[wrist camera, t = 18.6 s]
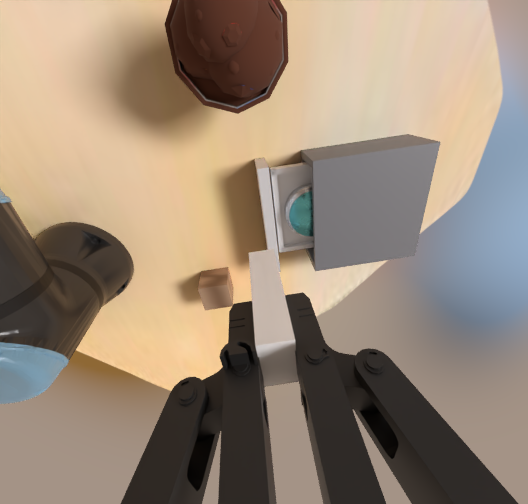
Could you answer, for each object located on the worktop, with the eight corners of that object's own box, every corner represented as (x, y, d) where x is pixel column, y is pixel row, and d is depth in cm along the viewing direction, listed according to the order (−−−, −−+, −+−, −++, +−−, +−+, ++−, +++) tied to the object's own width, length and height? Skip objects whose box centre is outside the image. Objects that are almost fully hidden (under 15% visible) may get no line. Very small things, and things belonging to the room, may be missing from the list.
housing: (305, 248, 47) (315, 271, 41) (301, 150, 38) (313, 161, 32) (391, 235, 47) (414, 255, 41) (408, 134, 38) (440, 142, 32)
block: (207, 291, 50) (205, 310, 46) (201, 271, 47) (197, 288, 43) (233, 287, 50) (232, 306, 46) (228, 267, 47) (227, 284, 43)
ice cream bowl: (171, 76, 32) (128, 65, 19) (210, -33, 27) (187, -146, 14) (247, 125, 35) (252, 143, 22) (292, 35, 31) (332, -6, 18)
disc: (285, 232, 43) (287, 241, 40) (283, 185, 38) (286, 191, 36) (332, 227, 43) (337, 235, 41) (335, 180, 39) (342, 186, 36)
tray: (267, 253, 46) (271, 273, 41) (254, 159, 37) (257, 169, 32) (354, 240, 46) (368, 257, 41) (362, 142, 38) (381, 150, 33)
